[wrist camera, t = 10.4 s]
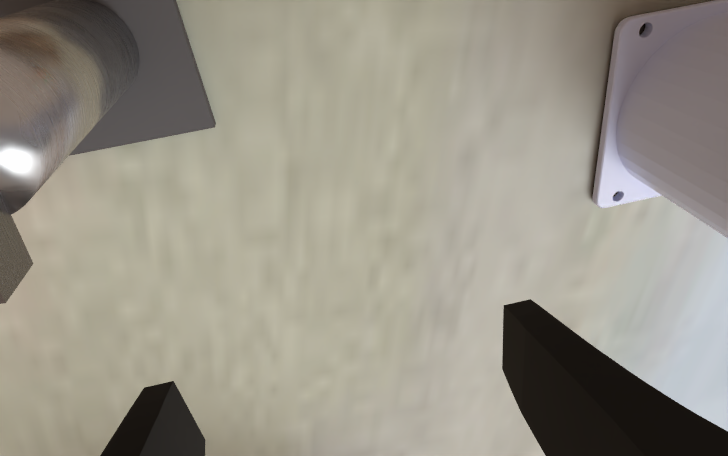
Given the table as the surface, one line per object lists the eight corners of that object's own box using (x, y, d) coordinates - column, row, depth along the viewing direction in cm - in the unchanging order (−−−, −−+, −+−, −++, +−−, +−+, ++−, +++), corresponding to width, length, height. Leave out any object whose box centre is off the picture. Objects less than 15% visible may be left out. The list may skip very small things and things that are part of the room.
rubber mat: (151, -74, 14) (148, -74, 13) (215, 123, 17) (214, 127, 17) (-63, -39, 13) (-72, -38, 13) (44, 156, 17) (39, 161, 16)
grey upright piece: (116, -43, 14) (-78, -12, 6) (157, 124, 16) (60, 297, 9) (1, -42, 13) (-369, -7, 5) (62, 130, 16) (-129, 317, 8)
